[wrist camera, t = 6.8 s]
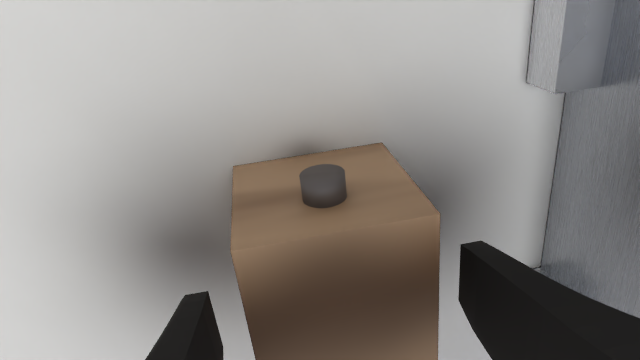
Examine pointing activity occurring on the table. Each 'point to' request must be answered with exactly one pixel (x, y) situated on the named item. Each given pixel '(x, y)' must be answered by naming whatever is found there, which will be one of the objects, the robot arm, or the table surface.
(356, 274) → the cabinet
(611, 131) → the grey metal bar
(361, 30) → the table surface
